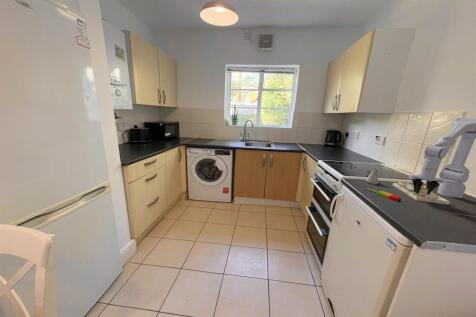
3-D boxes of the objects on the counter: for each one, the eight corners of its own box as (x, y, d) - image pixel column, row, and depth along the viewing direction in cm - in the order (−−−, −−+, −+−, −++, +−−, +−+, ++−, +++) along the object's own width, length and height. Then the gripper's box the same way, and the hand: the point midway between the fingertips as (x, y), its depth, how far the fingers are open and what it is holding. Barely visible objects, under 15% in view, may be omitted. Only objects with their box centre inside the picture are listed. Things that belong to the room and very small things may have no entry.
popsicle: (396, 202, 93) (397, 198, 93) (364, 190, 105) (365, 187, 105) (400, 200, 96) (401, 196, 96) (368, 189, 108) (369, 186, 108)
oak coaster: (408, 183, 123) (408, 182, 123) (416, 188, 116) (417, 187, 115) (394, 181, 125) (395, 180, 124) (402, 186, 117) (402, 185, 117)
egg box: (418, 189, 113) (419, 186, 113) (448, 205, 93) (450, 201, 93) (391, 186, 116) (392, 182, 115) (416, 201, 96) (417, 197, 95)
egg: (421, 194, 100) (425, 185, 99) (428, 197, 96) (431, 188, 95) (412, 193, 101) (415, 184, 100) (418, 196, 97) (421, 187, 95)
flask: (381, 185, 115) (385, 170, 113) (368, 183, 117) (372, 168, 114) (375, 181, 122) (379, 167, 120) (363, 180, 123) (367, 165, 121)
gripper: (439, 168, 97) (430, 192, 101) (408, 165, 100) (400, 188, 103) (451, 172, 91) (442, 198, 94) (418, 168, 93) (409, 193, 96)
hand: (421, 193), depth 98 cm, fingers open, 4 cm apart
